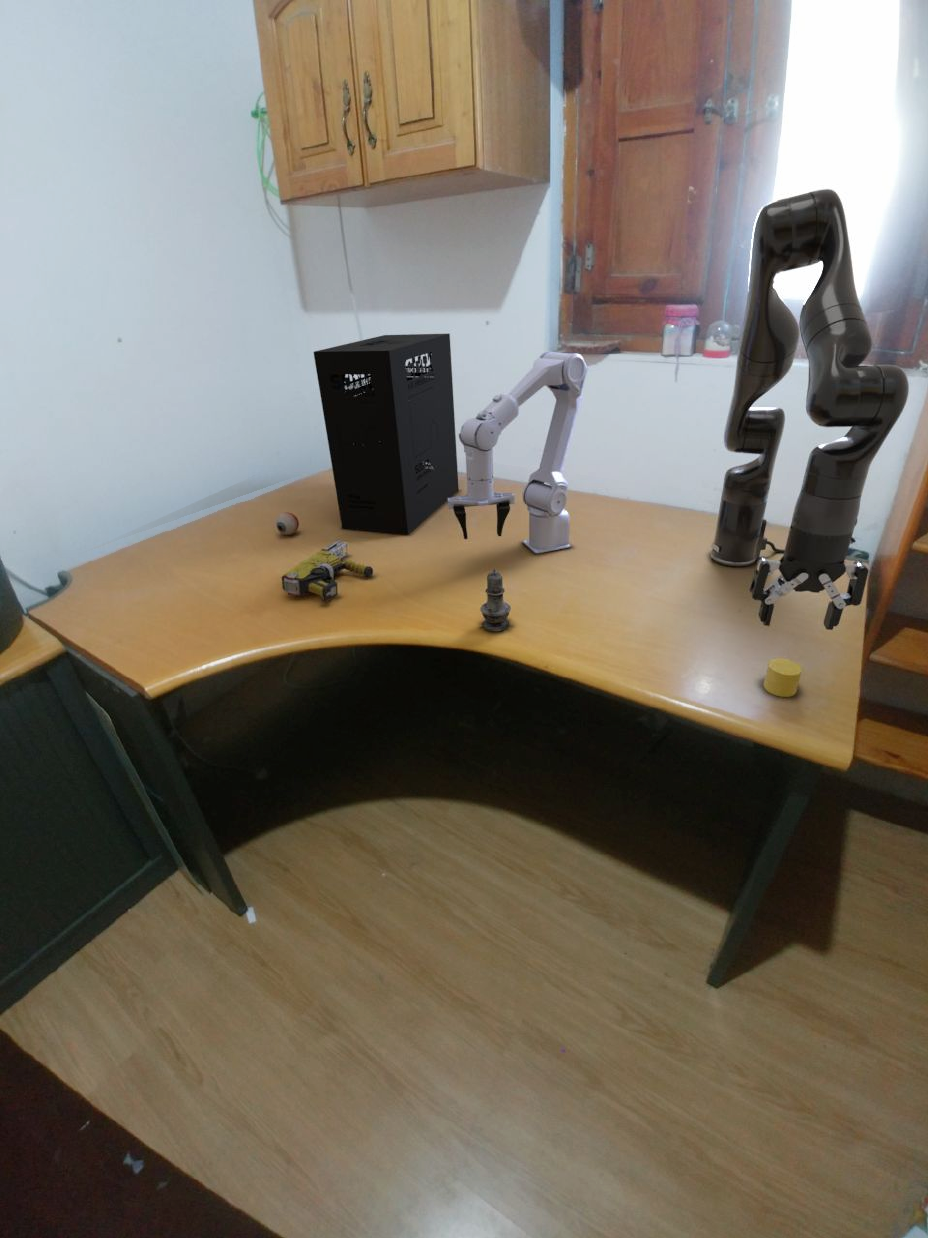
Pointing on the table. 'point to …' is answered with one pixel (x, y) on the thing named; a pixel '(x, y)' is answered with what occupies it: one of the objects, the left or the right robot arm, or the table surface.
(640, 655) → the table surface
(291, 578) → the toy gun
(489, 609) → the grey tall turned piece
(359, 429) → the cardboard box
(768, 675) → the tin
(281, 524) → the eyeball
